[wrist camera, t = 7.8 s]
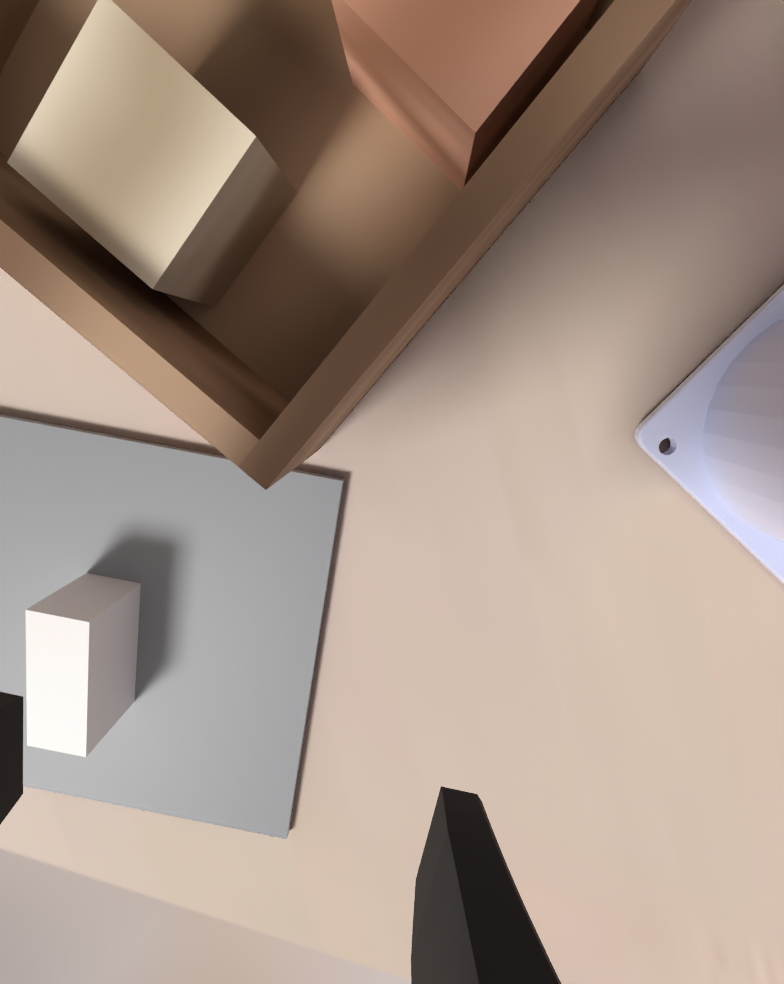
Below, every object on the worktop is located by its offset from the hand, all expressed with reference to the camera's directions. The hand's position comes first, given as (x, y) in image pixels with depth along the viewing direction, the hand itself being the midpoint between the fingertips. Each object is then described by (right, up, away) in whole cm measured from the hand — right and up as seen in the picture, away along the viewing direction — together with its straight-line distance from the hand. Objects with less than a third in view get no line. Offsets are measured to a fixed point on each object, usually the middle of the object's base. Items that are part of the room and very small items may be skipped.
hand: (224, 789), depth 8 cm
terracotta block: (+5, +16, +5) cm, 17 cm away
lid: (-8, 0, +11) cm, 13 cm away
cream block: (-3, +13, +6) cm, 15 cm away
